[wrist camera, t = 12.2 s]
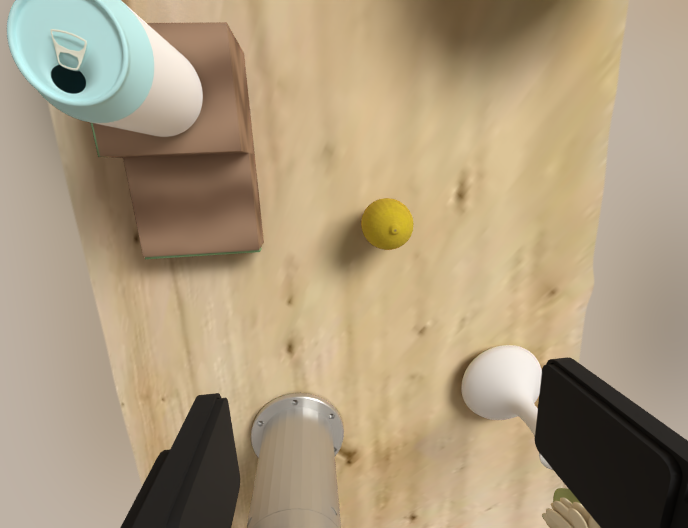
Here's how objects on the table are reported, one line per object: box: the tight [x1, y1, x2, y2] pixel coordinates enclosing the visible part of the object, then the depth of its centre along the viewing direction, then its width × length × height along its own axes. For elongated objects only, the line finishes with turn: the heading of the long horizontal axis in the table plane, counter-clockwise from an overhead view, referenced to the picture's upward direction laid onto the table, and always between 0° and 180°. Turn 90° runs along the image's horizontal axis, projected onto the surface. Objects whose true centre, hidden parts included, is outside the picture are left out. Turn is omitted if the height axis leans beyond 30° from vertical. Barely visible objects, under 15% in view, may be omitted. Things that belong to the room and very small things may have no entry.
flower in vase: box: [461, 345, 601, 528], centre depth 38 cm, size 13×11×25 cm
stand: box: [91, 22, 264, 259], centre depth 35 cm, size 20×12×8 cm, turn 2°
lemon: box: [361, 198, 413, 250], centre depth 38 cm, size 6×6×8 cm
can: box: [7, 0, 203, 137], centre depth 24 cm, size 7×7×12 cm
